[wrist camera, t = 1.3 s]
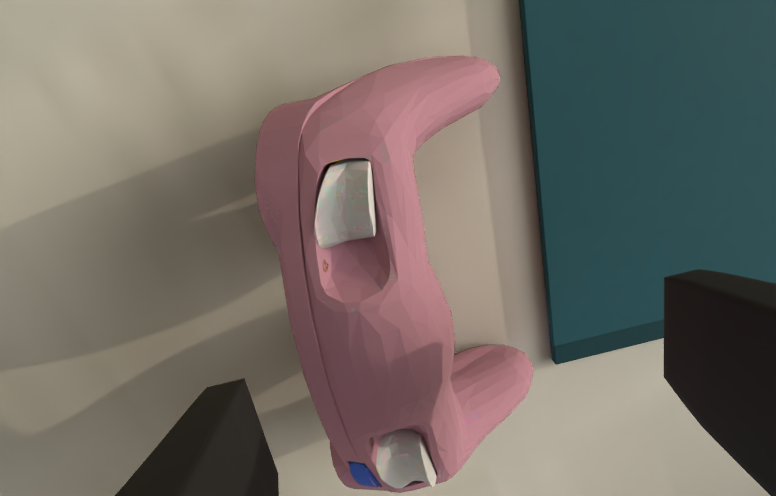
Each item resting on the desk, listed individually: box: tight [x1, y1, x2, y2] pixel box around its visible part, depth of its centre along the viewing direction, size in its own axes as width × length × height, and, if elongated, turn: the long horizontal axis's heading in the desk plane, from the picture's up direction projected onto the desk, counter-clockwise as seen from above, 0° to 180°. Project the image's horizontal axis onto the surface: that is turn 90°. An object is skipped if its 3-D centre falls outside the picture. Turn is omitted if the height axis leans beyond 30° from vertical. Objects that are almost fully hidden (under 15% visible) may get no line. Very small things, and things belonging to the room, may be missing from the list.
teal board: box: [519, 0, 776, 364], centre depth 14 cm, size 11×15×1 cm
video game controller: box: [254, 56, 533, 493], centre depth 13 cm, size 10×5×7 cm, turn 11°
